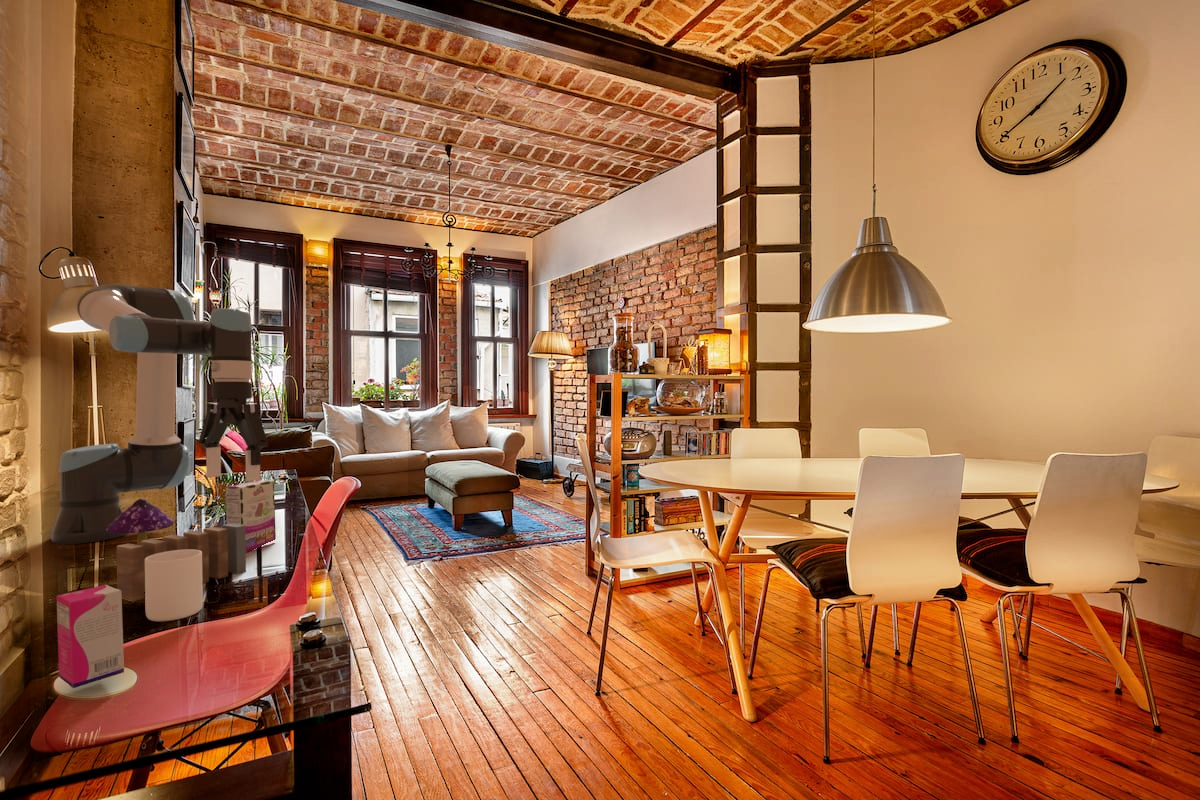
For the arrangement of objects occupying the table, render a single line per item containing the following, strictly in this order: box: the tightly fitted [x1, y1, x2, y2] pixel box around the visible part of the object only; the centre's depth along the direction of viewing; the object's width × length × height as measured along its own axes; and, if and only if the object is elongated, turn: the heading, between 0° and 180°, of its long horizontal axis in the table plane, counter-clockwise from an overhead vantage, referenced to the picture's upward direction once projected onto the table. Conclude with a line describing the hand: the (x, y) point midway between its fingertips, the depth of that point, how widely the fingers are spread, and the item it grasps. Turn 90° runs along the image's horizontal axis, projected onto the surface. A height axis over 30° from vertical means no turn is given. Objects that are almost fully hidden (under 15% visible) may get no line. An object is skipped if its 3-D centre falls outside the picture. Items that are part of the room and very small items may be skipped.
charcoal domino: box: [221, 523, 247, 575], centre depth 134 cm, size 2×5×10 cm, turn 64°
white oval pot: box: [144, 549, 204, 622], centre depth 110 cm, size 12×8×10 cm
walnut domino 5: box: [202, 526, 229, 580], centre depth 131 cm, size 2×5×10 cm, turn 63°
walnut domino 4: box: [183, 530, 210, 584], centre depth 127 cm, size 2×5×10 cm, turn 63°
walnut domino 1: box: [116, 542, 145, 601], centre depth 116 cm, size 2×5×10 cm, turn 63°
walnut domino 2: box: [140, 538, 166, 592], centre depth 120 cm, size 2×5×10 cm, turn 63°
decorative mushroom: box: [106, 498, 176, 545], centre depth 140 cm, size 12×12×15 cm
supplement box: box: [56, 584, 125, 689], centre depth 84 cm, size 6×6×12 cm
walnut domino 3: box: [162, 534, 188, 552], centre depth 123 cm, size 2×5×10 cm, turn 63°
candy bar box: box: [224, 479, 277, 554], centre depth 153 cm, size 11×5×16 cm, turn 168°
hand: (233, 478), depth 134 cm, fingers open, 13 cm apart
